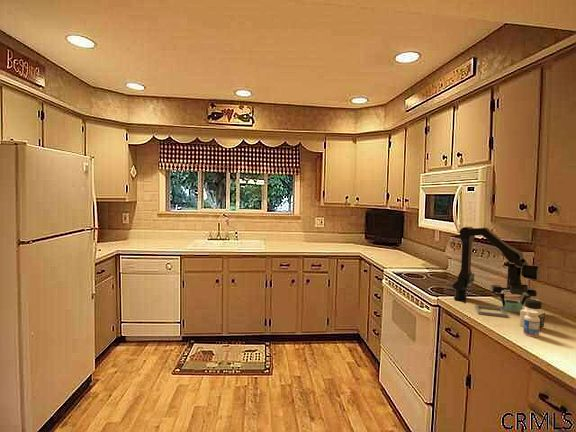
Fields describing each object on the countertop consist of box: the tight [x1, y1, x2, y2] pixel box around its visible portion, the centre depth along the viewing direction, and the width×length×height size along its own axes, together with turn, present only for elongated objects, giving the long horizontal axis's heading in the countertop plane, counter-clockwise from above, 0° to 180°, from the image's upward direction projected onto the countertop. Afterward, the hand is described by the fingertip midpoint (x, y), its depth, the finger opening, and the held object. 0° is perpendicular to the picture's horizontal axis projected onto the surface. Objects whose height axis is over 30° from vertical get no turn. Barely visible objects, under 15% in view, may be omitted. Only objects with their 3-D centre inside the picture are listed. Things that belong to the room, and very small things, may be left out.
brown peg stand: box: [500, 299, 520, 314], centre depth 184 cm, size 8×8×5 cm
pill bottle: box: [522, 310, 540, 338], centre depth 153 cm, size 6×5×10 cm
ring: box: [501, 298, 523, 313], centre depth 183 cm, size 9×7×4 cm
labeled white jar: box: [519, 298, 546, 331], centre depth 162 cm, size 7×7×12 cm
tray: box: [474, 304, 508, 319], centre depth 179 cm, size 12×12×2 cm
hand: (512, 307), depth 184 cm, fingers closed on ring, 7 cm apart
